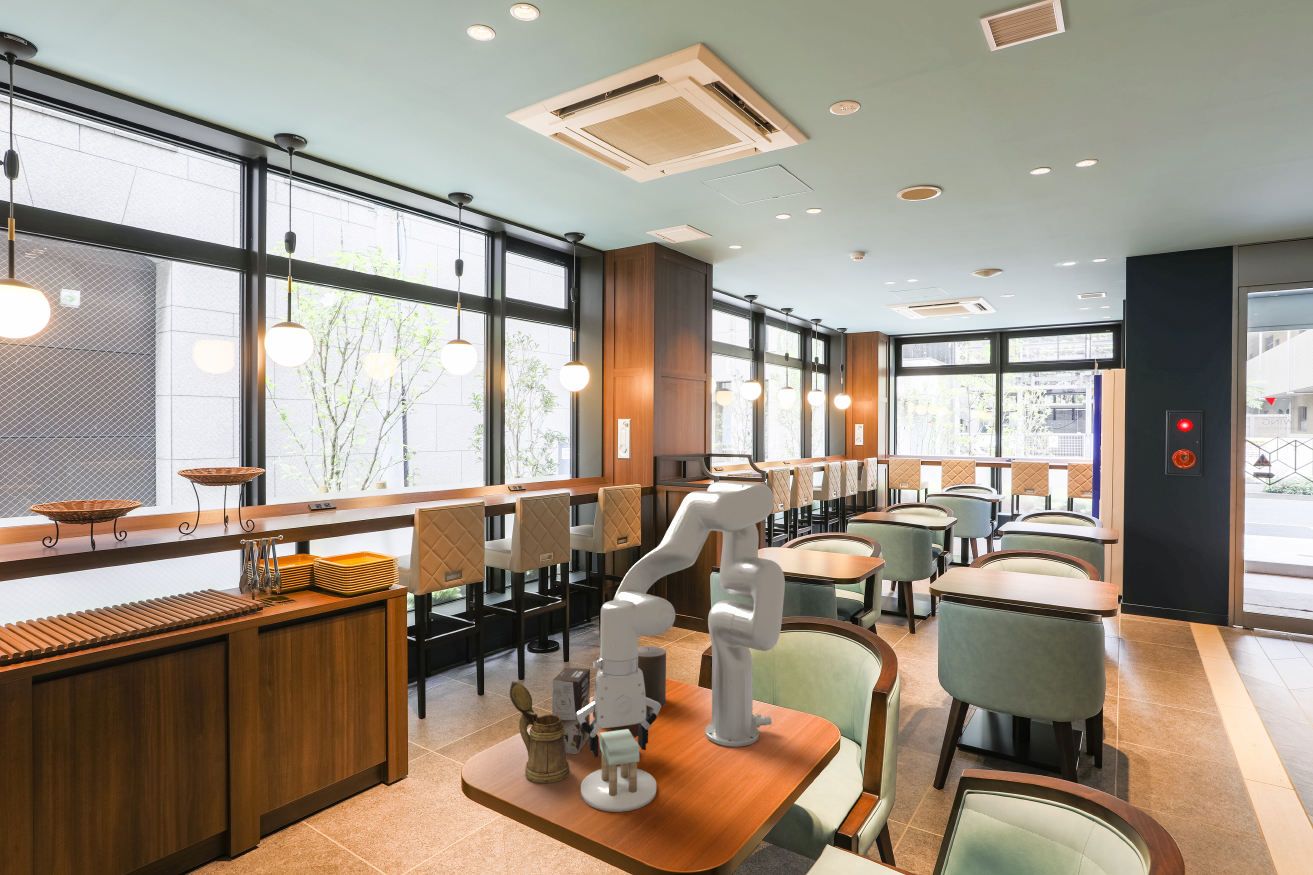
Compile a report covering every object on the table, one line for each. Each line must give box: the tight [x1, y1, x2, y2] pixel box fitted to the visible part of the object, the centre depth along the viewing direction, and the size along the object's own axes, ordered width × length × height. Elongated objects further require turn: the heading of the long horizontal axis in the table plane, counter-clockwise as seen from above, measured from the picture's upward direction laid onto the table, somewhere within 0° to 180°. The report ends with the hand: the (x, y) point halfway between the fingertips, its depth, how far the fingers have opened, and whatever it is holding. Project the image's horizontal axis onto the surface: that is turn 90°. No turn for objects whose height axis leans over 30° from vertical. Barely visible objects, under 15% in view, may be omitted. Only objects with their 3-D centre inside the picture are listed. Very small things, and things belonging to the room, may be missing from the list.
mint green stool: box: [599, 729, 640, 796], centre depth 134 cm, size 8×6×9 cm
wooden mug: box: [509, 680, 570, 784], centre depth 141 cm, size 9×14×18 cm, turn 68°
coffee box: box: [551, 667, 591, 755], centre depth 154 cm, size 9×6×16 cm
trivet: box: [580, 766, 657, 813], centre depth 133 cm, size 15×15×1 cm
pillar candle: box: [638, 645, 667, 709], centre depth 178 cm, size 10×10×15 cm
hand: (618, 750), depth 133 cm, fingers open, 9 cm apart
